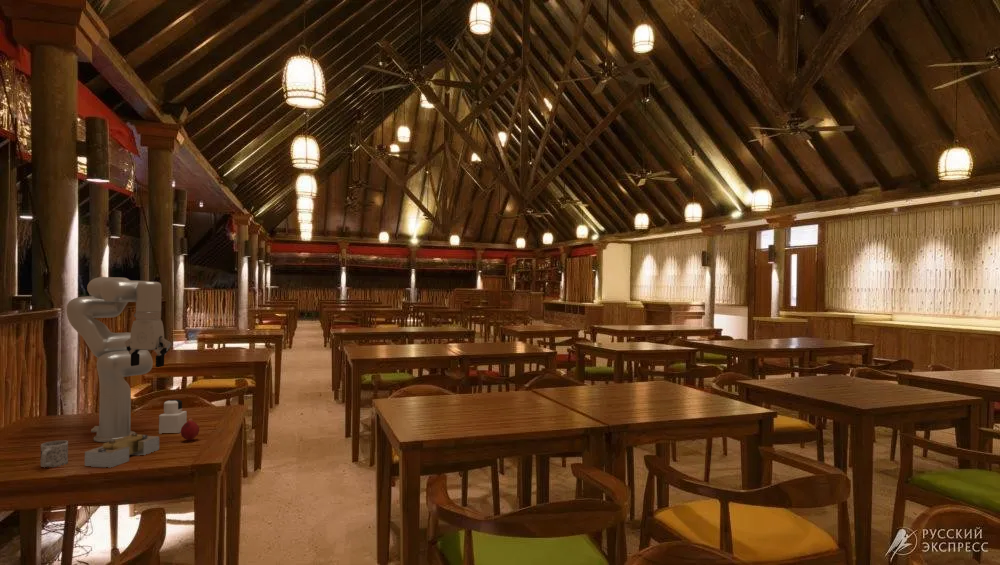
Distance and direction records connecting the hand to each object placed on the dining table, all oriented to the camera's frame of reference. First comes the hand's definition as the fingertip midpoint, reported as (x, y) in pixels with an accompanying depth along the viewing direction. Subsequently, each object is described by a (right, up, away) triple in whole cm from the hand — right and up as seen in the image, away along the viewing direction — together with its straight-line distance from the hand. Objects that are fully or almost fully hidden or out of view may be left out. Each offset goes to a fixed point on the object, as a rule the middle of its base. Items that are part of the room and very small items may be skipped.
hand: (147, 366), depth 197 cm
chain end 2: (+2, -28, -8) cm, 29 cm away
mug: (-15, -28, -23) cm, 39 cm away
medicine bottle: (-3, -28, +21) cm, 35 cm away
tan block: (+1, -26, -14) cm, 30 cm away
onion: (+11, -28, +7) cm, 31 cm away
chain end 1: (0, -27, -21) cm, 34 cm away
